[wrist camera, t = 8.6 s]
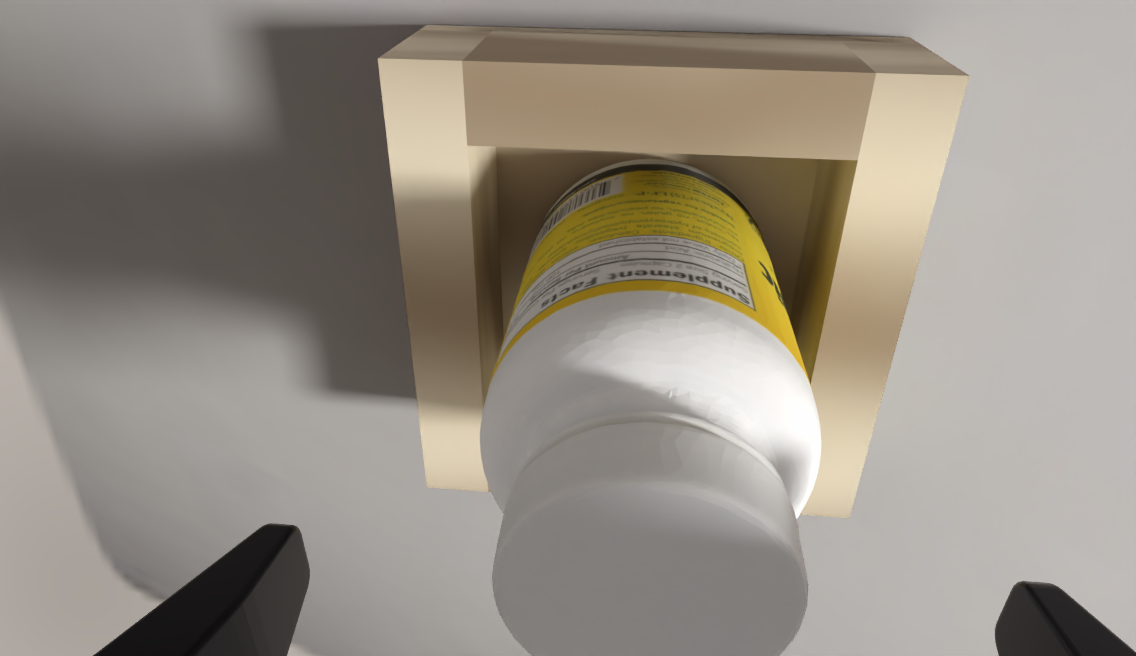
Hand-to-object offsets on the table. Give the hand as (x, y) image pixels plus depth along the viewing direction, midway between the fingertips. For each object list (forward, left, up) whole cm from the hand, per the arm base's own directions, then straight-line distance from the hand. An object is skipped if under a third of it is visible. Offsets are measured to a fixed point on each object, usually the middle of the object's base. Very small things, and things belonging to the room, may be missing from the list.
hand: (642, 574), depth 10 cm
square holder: (0, 0, -10) cm, 10 cm away
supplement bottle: (0, 0, -10) cm, 10 cm away
